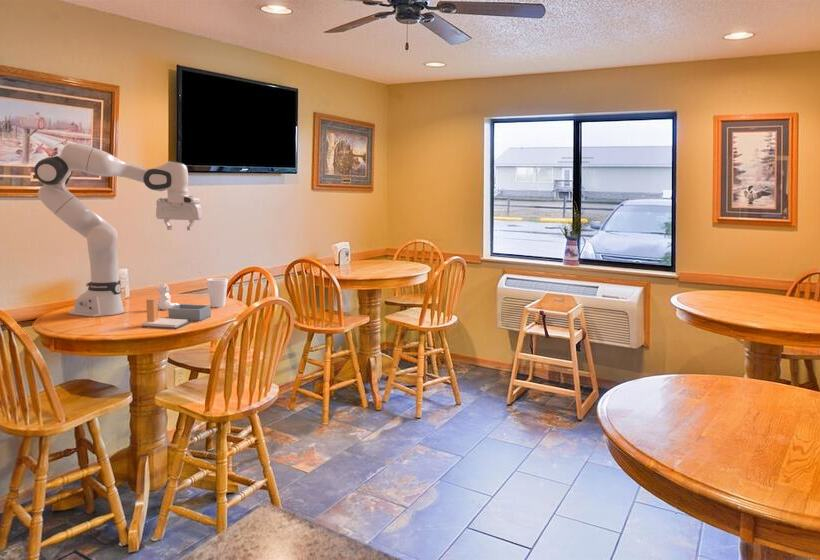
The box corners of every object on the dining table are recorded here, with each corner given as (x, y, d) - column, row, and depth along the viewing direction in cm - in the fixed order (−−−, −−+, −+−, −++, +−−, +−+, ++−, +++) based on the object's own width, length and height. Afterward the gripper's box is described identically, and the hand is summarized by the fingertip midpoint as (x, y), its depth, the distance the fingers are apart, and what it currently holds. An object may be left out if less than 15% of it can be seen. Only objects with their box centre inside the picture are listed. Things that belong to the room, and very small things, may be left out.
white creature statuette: (180, 307, 279) (179, 282, 277) (170, 311, 270) (169, 285, 268) (162, 306, 280) (161, 281, 278) (151, 310, 272) (150, 284, 270)
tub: (168, 319, 253) (168, 308, 252) (180, 315, 263) (180, 303, 262) (199, 321, 251) (199, 310, 250) (210, 316, 261) (210, 305, 260)
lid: (142, 325, 240) (141, 301, 238) (156, 320, 249) (155, 296, 248) (175, 327, 238) (174, 302, 236) (187, 321, 248) (186, 298, 246)
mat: (141, 327, 239) (141, 325, 239) (156, 321, 250) (156, 319, 250) (176, 329, 237) (176, 327, 237) (190, 323, 248) (190, 321, 248)
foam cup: (232, 306, 285) (231, 279, 283) (216, 309, 277) (215, 281, 275) (219, 303, 290) (218, 277, 288) (203, 306, 282) (202, 279, 280)
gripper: (152, 198, 260) (153, 229, 263) (196, 199, 258) (197, 231, 260) (160, 197, 267) (161, 228, 269) (203, 199, 264) (204, 230, 266)
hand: (179, 230), depth 264 cm, fingers open, 8 cm apart
